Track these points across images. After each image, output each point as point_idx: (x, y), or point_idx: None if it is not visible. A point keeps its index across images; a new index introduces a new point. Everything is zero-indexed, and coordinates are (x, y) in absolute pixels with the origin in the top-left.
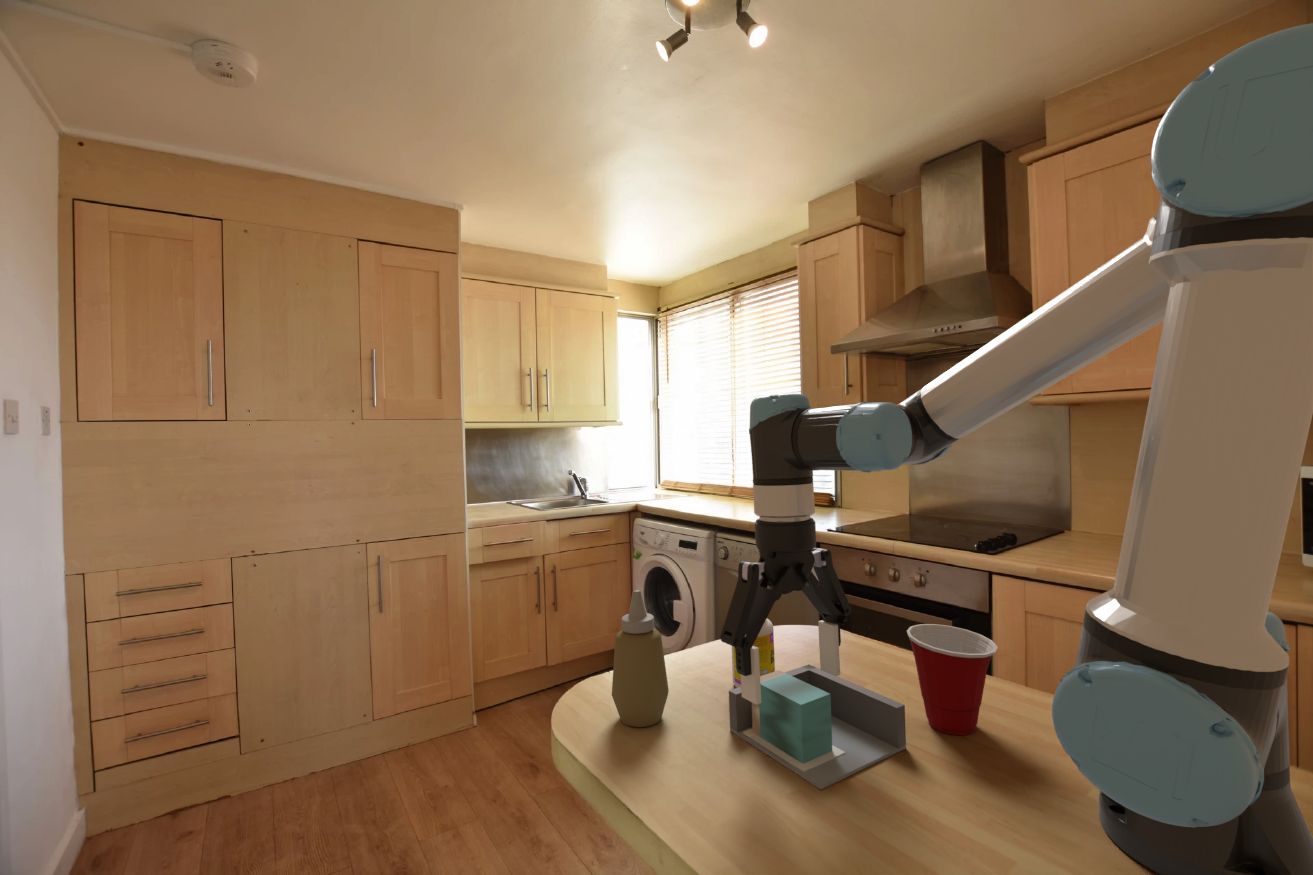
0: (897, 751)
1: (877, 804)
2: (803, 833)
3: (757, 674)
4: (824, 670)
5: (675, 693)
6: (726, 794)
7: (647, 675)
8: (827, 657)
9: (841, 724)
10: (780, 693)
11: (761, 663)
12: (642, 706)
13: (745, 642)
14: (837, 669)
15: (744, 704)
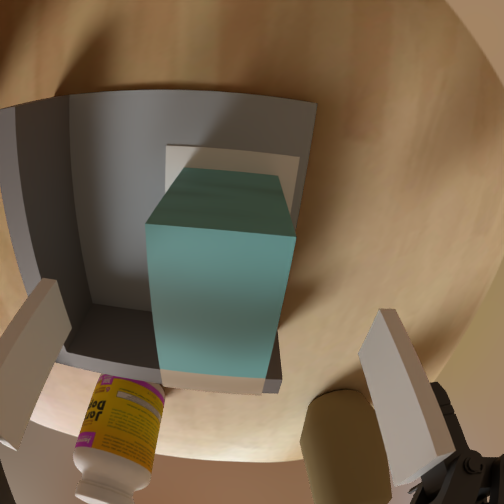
0: (74, 94)
1: (270, 5)
2: (434, 67)
3: (418, 375)
4: (67, 318)
5: (249, 421)
6: (431, 216)
7: (370, 451)
8: (44, 339)
9: (89, 224)
10: (274, 319)
11: (125, 410)
12: (371, 412)
13: (483, 469)
14: (42, 291)
15: None
